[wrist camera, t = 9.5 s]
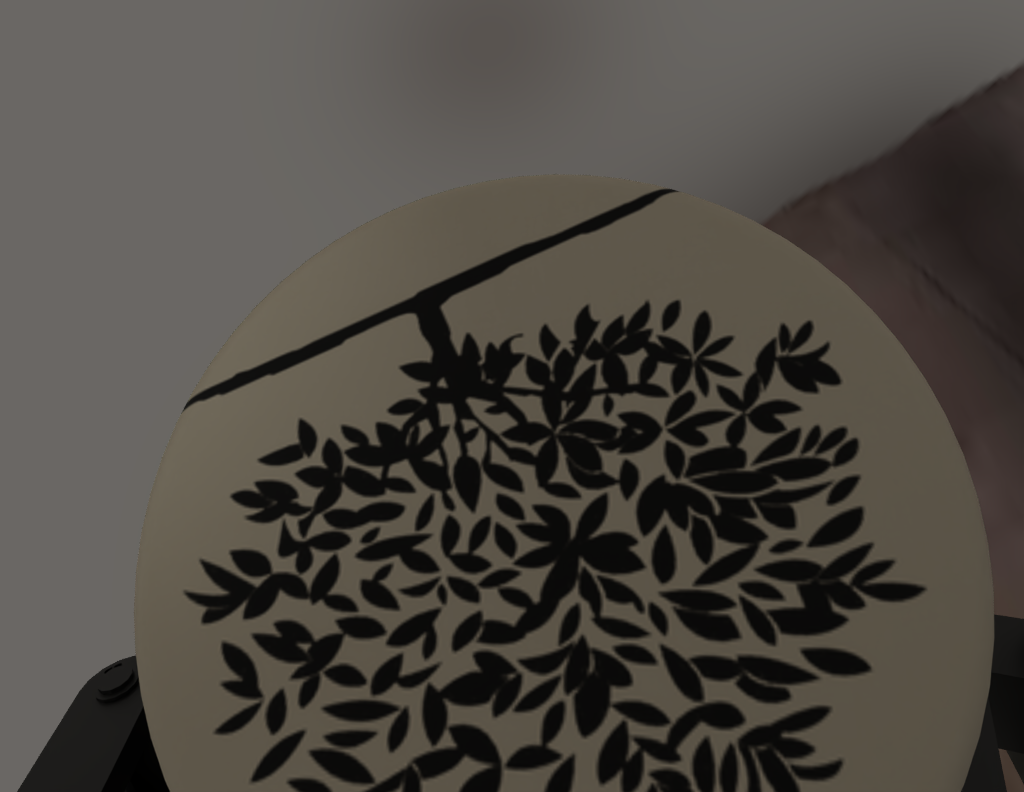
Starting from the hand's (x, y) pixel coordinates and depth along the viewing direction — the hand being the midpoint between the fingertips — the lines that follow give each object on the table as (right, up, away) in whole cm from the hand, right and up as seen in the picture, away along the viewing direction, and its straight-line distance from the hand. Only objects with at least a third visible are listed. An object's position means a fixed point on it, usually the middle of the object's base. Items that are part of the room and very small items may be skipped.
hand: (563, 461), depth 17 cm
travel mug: (+1, -6, +6) cm, 8 cm away
